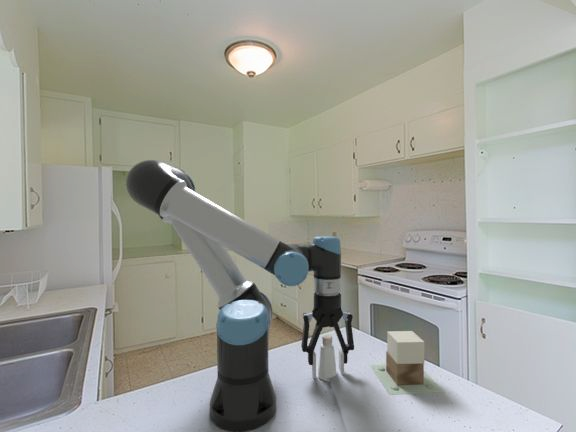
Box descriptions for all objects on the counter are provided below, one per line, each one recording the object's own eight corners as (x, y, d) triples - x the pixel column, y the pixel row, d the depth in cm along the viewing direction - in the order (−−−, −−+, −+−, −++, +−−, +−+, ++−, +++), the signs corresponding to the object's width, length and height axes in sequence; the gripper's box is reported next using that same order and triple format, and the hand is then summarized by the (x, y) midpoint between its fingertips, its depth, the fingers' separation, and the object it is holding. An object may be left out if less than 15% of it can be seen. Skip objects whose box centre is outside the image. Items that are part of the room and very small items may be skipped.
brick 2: (397, 385, 76) (397, 364, 76) (386, 370, 83) (386, 351, 83) (423, 384, 76) (423, 363, 76) (410, 370, 83) (410, 350, 83)
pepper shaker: (323, 383, 79) (323, 341, 79) (314, 373, 84) (313, 334, 84) (341, 378, 81) (340, 338, 81) (330, 369, 86) (330, 331, 86)
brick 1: (397, 363, 76) (397, 342, 76) (387, 351, 83) (387, 331, 83) (424, 363, 76) (424, 341, 76) (412, 350, 83) (412, 331, 83)
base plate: (389, 398, 72) (389, 393, 72) (369, 368, 86) (369, 363, 86) (444, 396, 73) (444, 390, 73) (416, 366, 87) (416, 362, 87)
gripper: (292, 297, 78) (293, 384, 78) (367, 295, 79) (367, 381, 79) (290, 289, 85) (290, 369, 85) (358, 288, 86) (358, 366, 87)
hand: (327, 375), depth 82 cm, fingers open, 7 cm apart
